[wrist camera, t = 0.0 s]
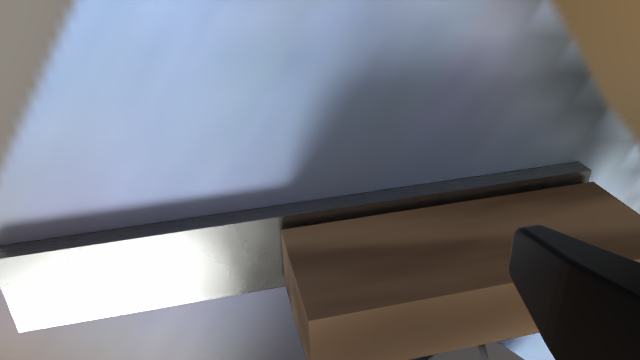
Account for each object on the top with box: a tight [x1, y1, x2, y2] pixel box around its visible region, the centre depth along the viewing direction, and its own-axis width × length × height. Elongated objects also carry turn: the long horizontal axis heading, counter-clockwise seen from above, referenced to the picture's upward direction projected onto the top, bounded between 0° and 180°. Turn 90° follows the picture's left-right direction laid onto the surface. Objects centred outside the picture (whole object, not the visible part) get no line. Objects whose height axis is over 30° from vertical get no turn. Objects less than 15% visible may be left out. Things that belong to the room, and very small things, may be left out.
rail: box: [0, 162, 591, 333], centre depth 26 cm, size 4×28×1 cm, turn 92°
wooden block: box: [281, 182, 640, 360], centre depth 24 cm, size 3×16×6 cm, turn 92°
